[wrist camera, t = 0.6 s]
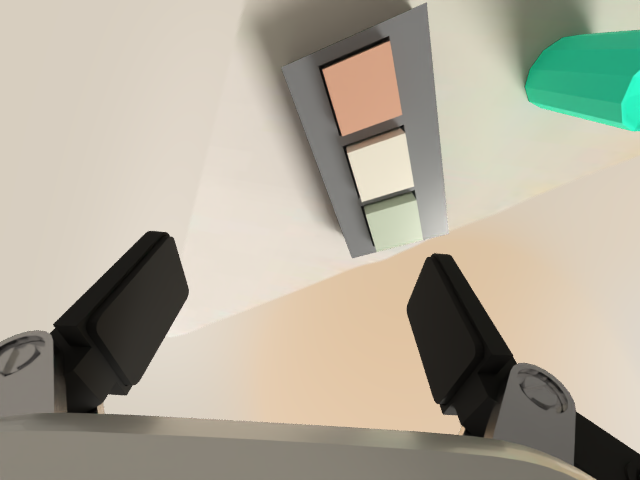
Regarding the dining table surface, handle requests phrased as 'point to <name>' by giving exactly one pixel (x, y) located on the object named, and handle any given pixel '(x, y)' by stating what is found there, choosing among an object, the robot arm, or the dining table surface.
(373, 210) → the key sage
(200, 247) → the dining table surface
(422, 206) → the keypad
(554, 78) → the candle
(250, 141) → the dining table surface
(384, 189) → the key cream
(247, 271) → the dining table surface
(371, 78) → the key terracotta
